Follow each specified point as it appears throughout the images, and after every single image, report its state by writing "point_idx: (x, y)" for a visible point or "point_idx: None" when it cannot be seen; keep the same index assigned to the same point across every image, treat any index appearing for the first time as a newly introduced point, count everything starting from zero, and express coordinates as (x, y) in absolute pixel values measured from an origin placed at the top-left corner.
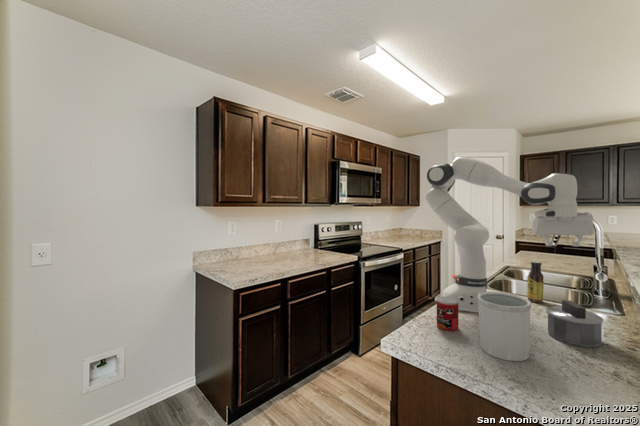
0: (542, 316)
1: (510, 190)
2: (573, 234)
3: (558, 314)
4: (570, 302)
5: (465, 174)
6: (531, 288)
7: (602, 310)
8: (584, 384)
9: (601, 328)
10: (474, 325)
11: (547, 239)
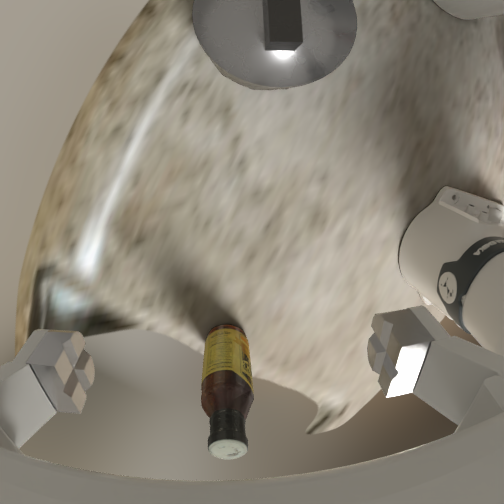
0: (271, 196)
1: None
2: (20, 462)
3: (334, 1)
4: (284, 15)
5: None
6: (245, 358)
7: (71, 297)
8: None
9: None
10: (478, 96)
11: (481, 353)
